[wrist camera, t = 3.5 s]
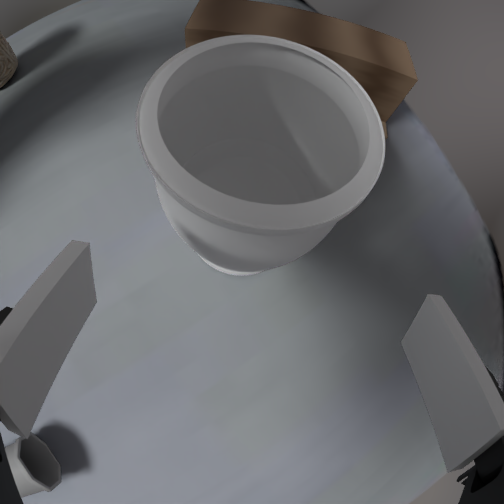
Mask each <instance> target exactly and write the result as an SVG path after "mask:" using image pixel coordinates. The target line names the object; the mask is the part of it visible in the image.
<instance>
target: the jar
mask: <svg viewBox="0 0 504 504" xmlns="http://www.w3.org/2000/svg"><path fill="white" fill-rule="evenodd" d="M136 131H137V137H138V142H139V145H140V148H141V151H142V153H143V156H144V158H145V161H146V163H147V165H148V167H149V169H150V171H151V172H152V174H153V176H154V178H155V184H156V188H157V193H158V196H159V199H160V202H161V205H162V208H163V210H164V212H165V214H166V216H167V218H168V220H169V222H170V223H171V225H172V227H173V228H174V230H175V231H176V232H177V234H178V235H179V236H180V237H181V239H182V240H183V241H184V242H185V243H186V244H187V245H188V246H189V247H190V248H191V249H193V250H194V251H195V252H196V253H197V254H198V255H199V256H200V257H201V258H202V259H203V260H204V261H205V262H206V263H207V264H208V265H210V266H211V267H213V268H214V269H216V270H218V271H221V272H223V273H226V274H231V275H238V276H246V275H253V274H257V273H260V272H263V271H265V270H268V269H272V268H276V267H279V266H282V265H285V264H287V263H290V262H292V261H294V260H296V259H298V258H299V257H301V256H303V255H304V254H306V253H307V252H309V251H310V250H311V249H313V248H314V247H315V246H316V245H317V244H319V243H320V242H321V241H322V240H323V239H324V238H325V237H326V236H327V234H328V233H329V232H330V231H331V230H332V228H333V227H334V226H335V224H336V223H337V222H338V221H339V220H341V219H342V218H344V217H345V216H347V215H348V214H350V213H351V212H352V211H353V210H354V209H356V208H357V207H358V206H359V205H360V204H361V203H362V202H363V201H364V199H365V198H366V197H367V196H368V194H369V193H370V191H371V190H372V188H373V187H374V185H375V184H376V182H377V180H378V178H379V176H380V173H381V170H382V167H383V163H384V158H385V136H384V130H383V126H382V122H381V119H380V117H379V114H378V112H377V110H376V108H375V106H374V104H373V102H372V100H371V99H370V97H369V96H368V94H367V93H366V91H365V90H364V89H363V87H362V86H361V85H360V84H359V83H358V82H357V81H356V80H355V79H354V78H353V77H352V76H351V75H350V74H349V73H348V72H347V71H346V70H345V69H343V68H342V67H341V66H340V65H338V64H337V63H336V62H334V61H333V60H331V59H330V58H328V57H326V56H325V55H323V54H321V53H319V52H317V51H315V50H313V49H311V48H309V47H306V46H304V45H301V44H298V43H295V42H292V41H289V40H285V39H281V38H276V37H270V36H262V35H232V36H224V37H218V38H214V39H210V40H206V41H203V42H200V43H197V44H195V45H193V46H190V47H188V48H186V49H184V50H182V51H181V52H179V53H177V54H176V55H174V56H173V57H171V58H170V59H169V60H167V61H166V62H165V63H164V64H163V65H162V66H161V67H160V68H159V69H158V70H157V71H156V72H155V73H154V74H153V75H152V77H151V78H150V79H149V81H148V83H147V84H146V86H145V88H144V90H143V92H142V94H141V97H140V100H139V103H138V107H137V113H136Z"/></svg>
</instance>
